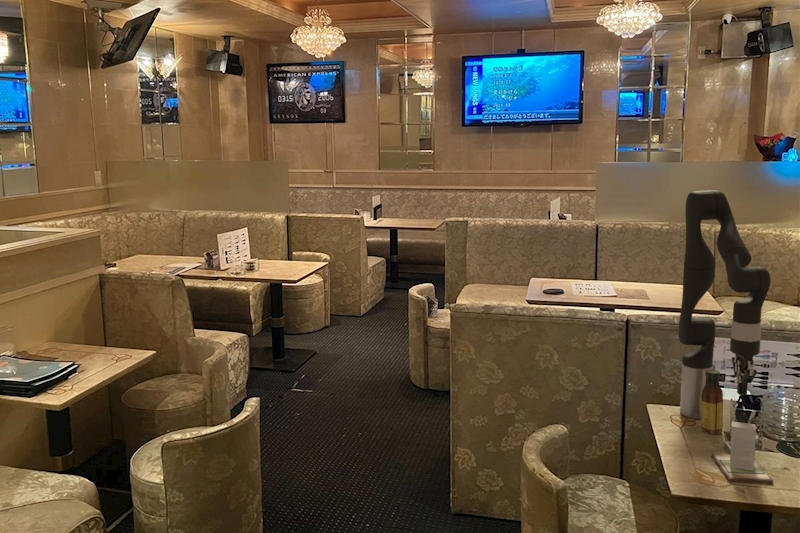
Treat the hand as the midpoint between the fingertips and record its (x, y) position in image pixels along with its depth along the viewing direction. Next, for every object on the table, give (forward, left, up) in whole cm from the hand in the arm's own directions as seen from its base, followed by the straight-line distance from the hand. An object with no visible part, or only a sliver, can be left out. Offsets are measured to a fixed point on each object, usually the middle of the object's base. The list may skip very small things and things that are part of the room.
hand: (741, 394), depth 192 cm
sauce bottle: (-15, -3, -18) cm, 24 cm away
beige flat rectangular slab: (+11, -3, -18) cm, 21 cm away
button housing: (0, 0, -18) cm, 18 cm away
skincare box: (+11, -3, -17) cm, 21 cm away
